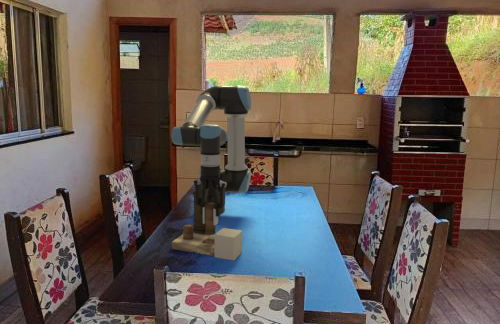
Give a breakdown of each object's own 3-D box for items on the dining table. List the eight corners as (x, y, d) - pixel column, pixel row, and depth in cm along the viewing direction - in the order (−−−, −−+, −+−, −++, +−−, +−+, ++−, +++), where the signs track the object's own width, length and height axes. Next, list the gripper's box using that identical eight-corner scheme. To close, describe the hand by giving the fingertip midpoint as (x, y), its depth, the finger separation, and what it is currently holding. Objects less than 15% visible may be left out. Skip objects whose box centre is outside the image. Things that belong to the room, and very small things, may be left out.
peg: (208, 231, 157) (208, 202, 155) (217, 232, 156) (217, 203, 154) (203, 234, 153) (203, 204, 151) (212, 235, 152) (212, 205, 150)
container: (194, 235, 170) (193, 195, 167) (191, 228, 179) (191, 190, 176) (214, 233, 173) (214, 194, 169) (210, 226, 181) (210, 189, 178)
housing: (223, 249, 155) (223, 227, 154) (241, 252, 153) (242, 230, 151) (214, 257, 148) (214, 234, 146) (234, 260, 145) (234, 237, 144)
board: (186, 238, 166) (186, 220, 165) (225, 244, 160) (225, 226, 159) (172, 248, 155) (171, 229, 154) (213, 255, 149) (213, 236, 148)
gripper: (185, 164, 149) (186, 223, 153) (226, 168, 144) (226, 229, 148) (195, 161, 156) (195, 218, 160) (234, 165, 151) (234, 223, 155)
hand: (210, 223), depth 154 cm, fingers closed on peg, 4 cm apart
